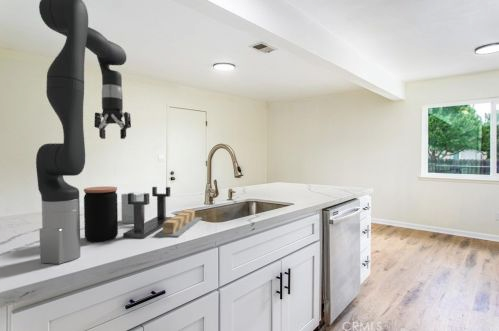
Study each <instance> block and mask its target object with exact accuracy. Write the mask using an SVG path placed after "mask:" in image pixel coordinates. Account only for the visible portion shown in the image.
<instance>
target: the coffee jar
mask: <svg viewBox="0 0 499 331" xmlns="http://www.w3.org/2000/svg"><path fill="white" fill-rule="evenodd" d="M117 191H118V187H117V186H93V187H92V186H91V187H85V188H83V192H84V196H83V215H84V216H83V217H84V222H83V224H84V238H85V240H86V241H87V242H90V243H103V242H108V241H111V240H114V239H117V236H118V235H119V224H118V223H119V222H118V221H119V220H118V219H119V218H118V216H119V215H118V214H119V213H118V193H117Z"/></svg>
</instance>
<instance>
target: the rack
mask: <svg viewBox="0 0 499 331" xmlns="http://www.w3.org/2000/svg"><path fill="white" fill-rule="evenodd" d="M151 189H152V190H151V191H152V192H151V193H152V194H151V195H152V196H151V197H156V201H157V202H156V206H157V207H156V210H157V214H156V215H157V216H155V217H153V218H151V219H149V220H147V221H145V220H144V205H145V206H148V205H150V193H148V192H147V193H146V192H144V193H145V194H144V201H134V193H130V192H127V193H128V204H131V205H134V223H133V228H131V229H129V230H127V231H125V232H123V233H122V238H126V239H127V238H128V239H129V238H130V239H145V238H148V237H149V236H150V235H152V234H154V233H156V232H157V231H158V230H159V231H160V229H163V222H165V221H167V220H169V219H170V218H172V217H173V216H167V214H166V213H167V211H166V209H167V205H166V202H167V201H166V197H167V198H168V197H171V186H166V187H165V193H158V187H157V186H152V187H151Z"/></svg>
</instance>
